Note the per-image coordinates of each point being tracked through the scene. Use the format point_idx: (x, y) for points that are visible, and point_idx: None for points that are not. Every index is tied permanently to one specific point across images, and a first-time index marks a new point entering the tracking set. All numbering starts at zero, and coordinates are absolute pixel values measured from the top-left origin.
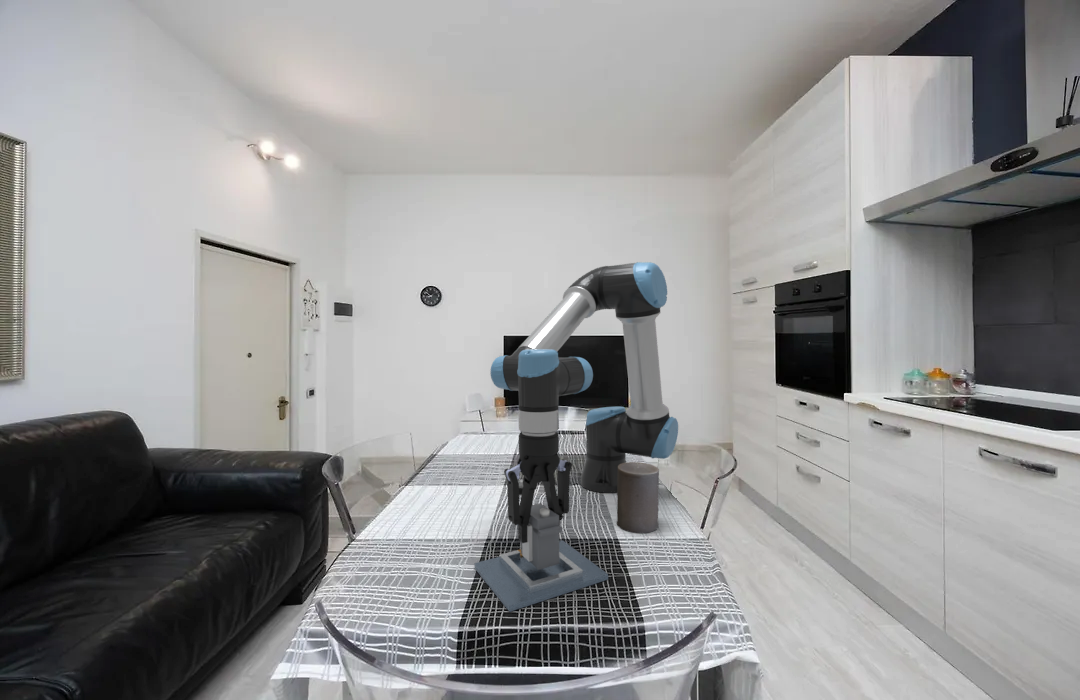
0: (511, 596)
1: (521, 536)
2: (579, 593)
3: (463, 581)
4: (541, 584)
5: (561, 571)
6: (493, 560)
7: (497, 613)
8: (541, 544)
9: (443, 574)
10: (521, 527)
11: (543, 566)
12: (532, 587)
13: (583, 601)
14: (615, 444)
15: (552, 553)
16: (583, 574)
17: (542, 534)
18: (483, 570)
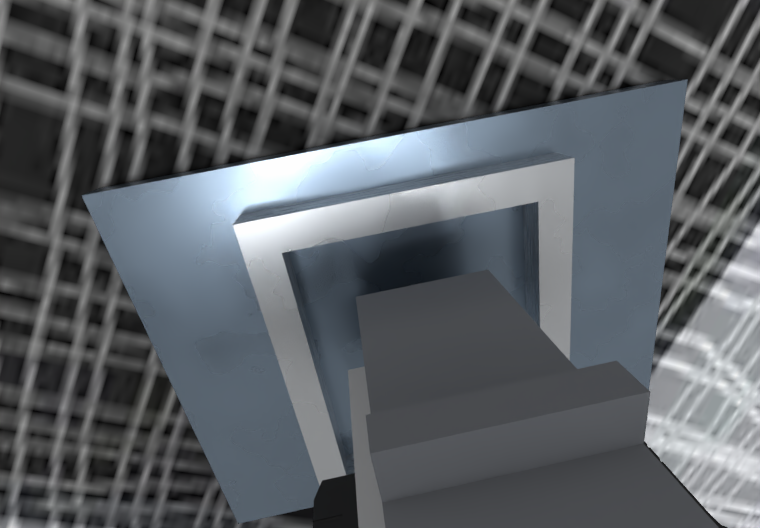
0: (641, 155)
1: (654, 454)
2: (297, 114)
3: (701, 349)
4: (500, 170)
5: (333, 292)
6: None
7: (709, 91)
8: (530, 354)
9: (734, 405)
10: (717, 522)
11: (459, 281)
12: (554, 158)
13: (302, 32)
14: None
15: (412, 324)
16: (229, 233)
17: (616, 380)
18: (639, 380)
